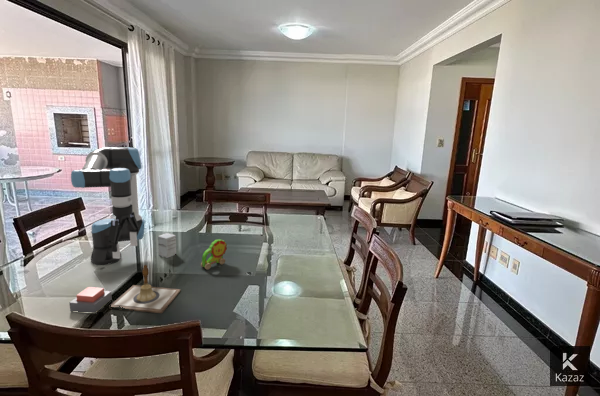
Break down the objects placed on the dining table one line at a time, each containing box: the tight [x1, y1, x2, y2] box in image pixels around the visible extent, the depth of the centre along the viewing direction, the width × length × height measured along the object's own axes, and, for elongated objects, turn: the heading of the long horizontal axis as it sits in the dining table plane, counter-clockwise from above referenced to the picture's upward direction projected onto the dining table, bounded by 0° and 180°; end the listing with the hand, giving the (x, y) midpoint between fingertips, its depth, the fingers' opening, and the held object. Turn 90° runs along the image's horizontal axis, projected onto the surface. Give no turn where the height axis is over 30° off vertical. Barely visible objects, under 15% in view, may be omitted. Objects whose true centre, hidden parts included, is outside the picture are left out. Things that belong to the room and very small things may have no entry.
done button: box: [76, 286, 105, 303], centre depth 141 cm, size 7×7×3 cm
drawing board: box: [110, 284, 182, 314], centre depth 150 cm, size 24×19×1 cm
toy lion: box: [200, 238, 228, 270], centre depth 186 cm, size 16×5×15 cm, turn 141°
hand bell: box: [137, 264, 156, 302], centre depth 148 cm, size 8×8×16 cm
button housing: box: [69, 290, 113, 312], centre depth 141 cm, size 11×11×4 cm
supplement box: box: [157, 232, 177, 259], centre depth 195 cm, size 7×7×13 cm
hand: (125, 251), depth 142 cm, fingers open, 13 cm apart
